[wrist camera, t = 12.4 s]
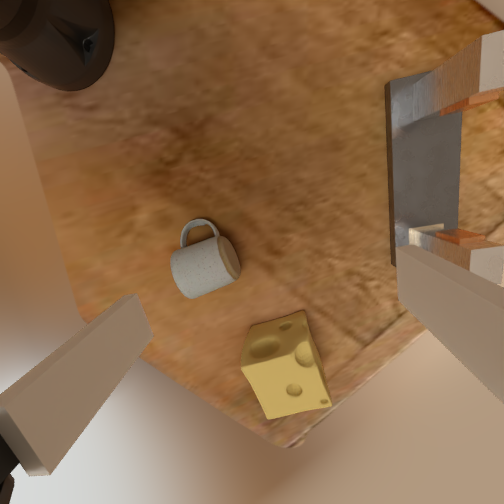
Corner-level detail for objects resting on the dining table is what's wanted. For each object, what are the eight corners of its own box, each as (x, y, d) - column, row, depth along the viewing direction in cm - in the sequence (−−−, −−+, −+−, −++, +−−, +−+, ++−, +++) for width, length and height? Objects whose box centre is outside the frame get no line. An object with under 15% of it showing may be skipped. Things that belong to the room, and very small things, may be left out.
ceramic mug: (246, 269, 39) (239, 288, 31) (202, 286, 40) (186, 308, 33) (218, 208, 37) (203, 214, 29) (173, 229, 38) (148, 239, 31)
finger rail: (384, 85, 30) (447, 29, 19) (454, 68, 29) (564, -2, 18) (391, 263, 36) (441, 299, 25) (448, 256, 35) (528, 289, 24)
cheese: (303, 307, 40) (312, 347, 30) (323, 359, 42) (336, 411, 33) (246, 324, 42) (237, 366, 32) (267, 372, 44) (265, 425, 35)
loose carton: (414, 226, 33) (471, 244, 23) (438, 222, 32) (506, 239, 23) (414, 257, 34) (468, 287, 24) (437, 254, 34) (501, 283, 24)
